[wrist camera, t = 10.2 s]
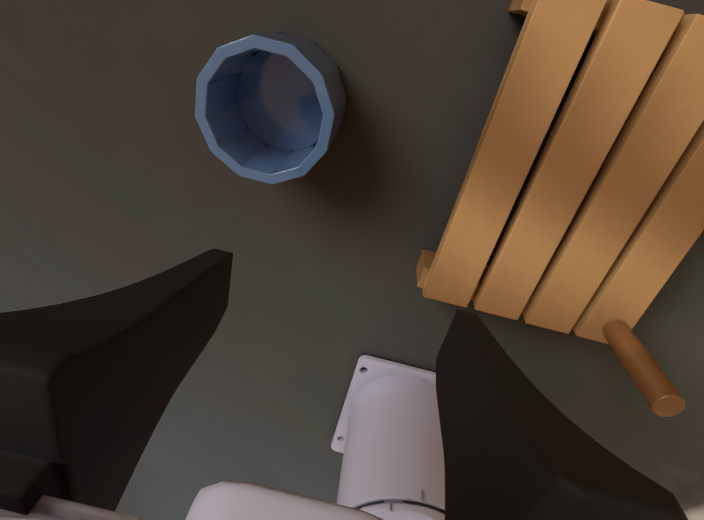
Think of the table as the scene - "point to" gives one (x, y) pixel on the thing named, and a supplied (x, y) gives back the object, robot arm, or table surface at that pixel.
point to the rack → (584, 179)
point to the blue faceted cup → (270, 105)
